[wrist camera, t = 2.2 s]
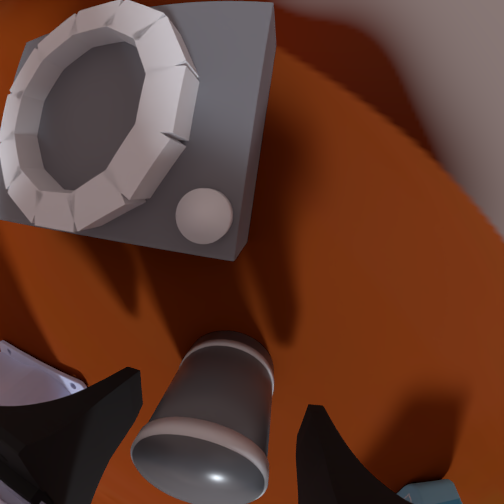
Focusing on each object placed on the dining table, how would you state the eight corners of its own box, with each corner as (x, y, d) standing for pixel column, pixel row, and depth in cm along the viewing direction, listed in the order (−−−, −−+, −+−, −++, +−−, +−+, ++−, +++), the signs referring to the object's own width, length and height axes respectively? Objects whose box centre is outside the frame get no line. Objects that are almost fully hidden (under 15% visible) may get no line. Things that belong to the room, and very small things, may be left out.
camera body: (40, 211, 13) (-26, 222, 8) (65, 60, 11) (9, 35, 7) (247, 241, 13) (225, 274, 8) (276, 46, 11) (271, -21, 6)
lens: (184, 392, 15) (138, 488, 8) (188, 320, 14) (121, 415, 7) (267, 408, 14) (256, 515, 7) (283, 337, 13) (281, 452, 6)
